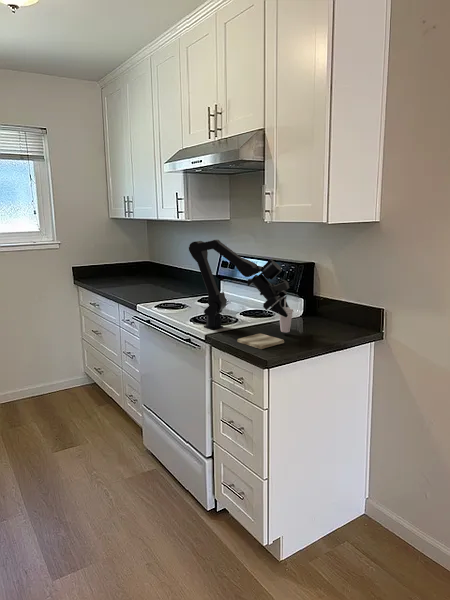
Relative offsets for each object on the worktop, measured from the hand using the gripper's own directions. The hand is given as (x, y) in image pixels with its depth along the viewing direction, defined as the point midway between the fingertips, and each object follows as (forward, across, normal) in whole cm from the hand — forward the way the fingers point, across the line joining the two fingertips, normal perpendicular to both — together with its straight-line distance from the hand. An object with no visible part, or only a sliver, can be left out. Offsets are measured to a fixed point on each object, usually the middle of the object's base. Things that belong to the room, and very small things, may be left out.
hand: (288, 314), depth 189 cm
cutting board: (+1, -15, +12) cm, 19 cm away
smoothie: (+4, 0, +6) cm, 8 cm away
